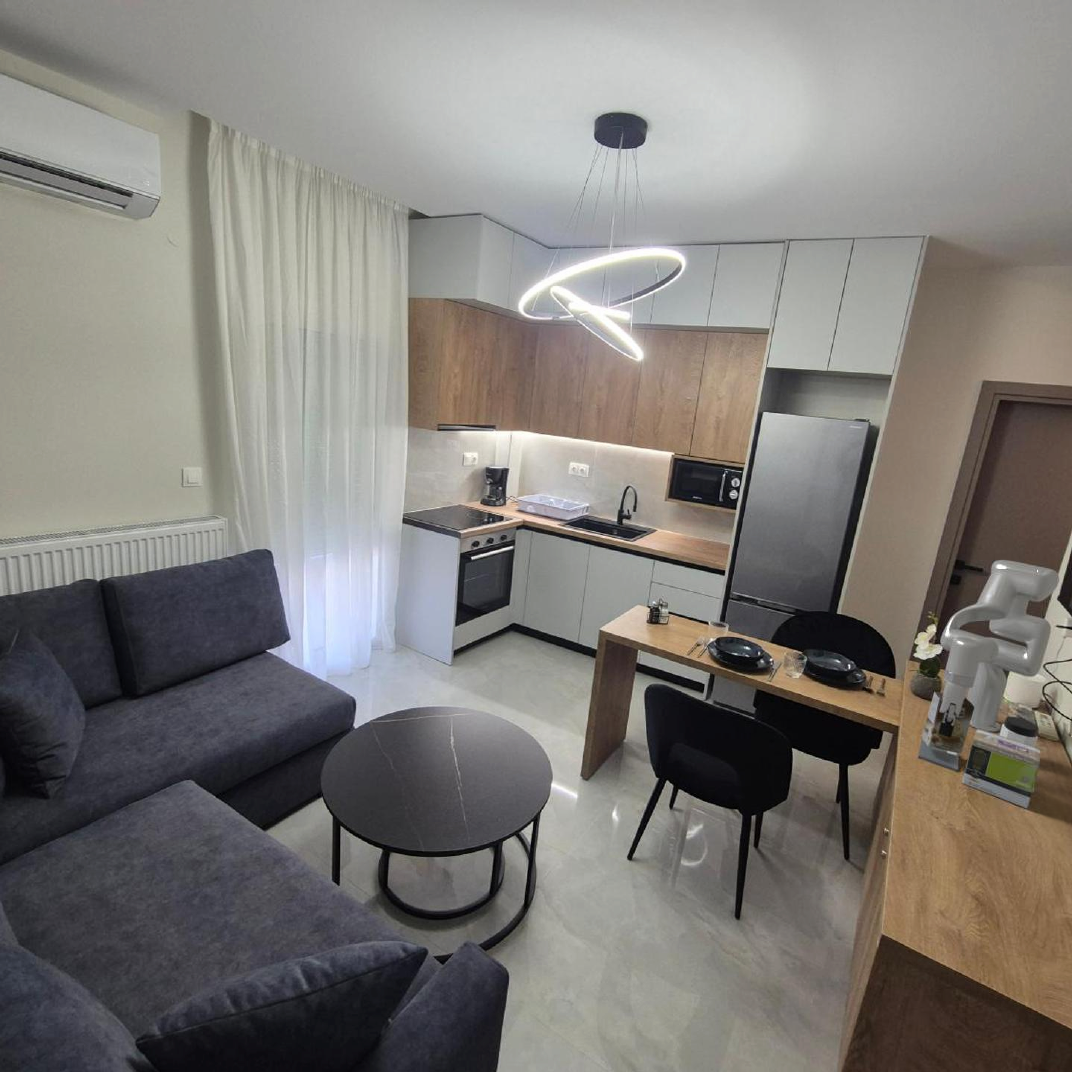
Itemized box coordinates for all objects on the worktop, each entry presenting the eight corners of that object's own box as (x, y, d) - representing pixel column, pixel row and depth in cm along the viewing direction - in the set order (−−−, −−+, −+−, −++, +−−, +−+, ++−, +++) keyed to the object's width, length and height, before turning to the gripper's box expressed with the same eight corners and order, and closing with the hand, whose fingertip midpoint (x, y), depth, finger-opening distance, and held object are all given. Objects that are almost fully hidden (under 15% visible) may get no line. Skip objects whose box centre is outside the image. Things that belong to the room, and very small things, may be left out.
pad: (921, 742, 187) (921, 740, 187) (958, 755, 182) (958, 752, 181) (918, 757, 178) (918, 755, 178) (957, 771, 172) (957, 769, 172)
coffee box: (927, 746, 177) (939, 699, 174) (921, 736, 183) (933, 690, 180) (962, 754, 175) (975, 707, 171) (954, 744, 181) (967, 697, 177)
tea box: (1029, 794, 164) (1043, 748, 161) (1027, 810, 157) (1041, 762, 153) (965, 770, 174) (977, 726, 171) (960, 783, 166) (973, 738, 163)
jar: (1033, 759, 183) (1043, 725, 180) (1027, 768, 178) (1037, 733, 175) (998, 745, 190) (1007, 713, 187) (992, 753, 184) (1001, 720, 182)
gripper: (945, 665, 183) (932, 715, 187) (942, 682, 169) (929, 736, 173) (974, 673, 179) (960, 724, 182) (974, 691, 165) (959, 746, 169)
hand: (945, 729), depth 178 cm, fingers closed on coffee box, 7 cm apart
